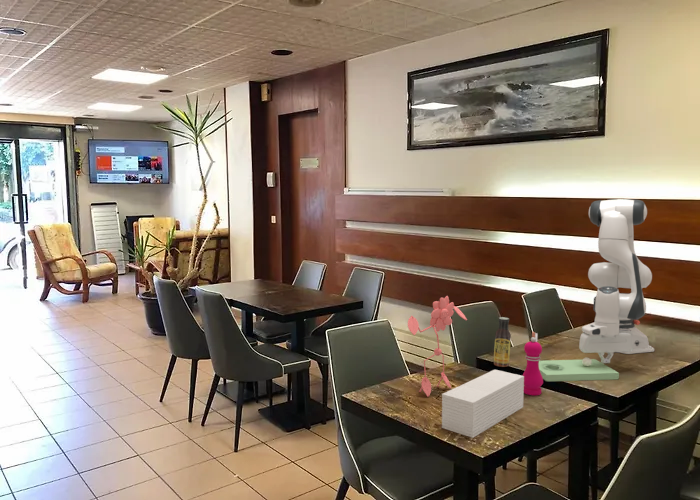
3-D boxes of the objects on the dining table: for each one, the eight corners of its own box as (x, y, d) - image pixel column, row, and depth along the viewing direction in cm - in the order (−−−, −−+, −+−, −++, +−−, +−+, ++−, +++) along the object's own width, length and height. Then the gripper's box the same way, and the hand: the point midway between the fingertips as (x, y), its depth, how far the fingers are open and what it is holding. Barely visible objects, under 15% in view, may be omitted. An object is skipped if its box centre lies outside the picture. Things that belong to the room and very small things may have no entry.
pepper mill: (544, 396, 195) (545, 340, 193) (522, 395, 197) (523, 339, 195) (541, 389, 202) (542, 335, 200) (520, 388, 204) (521, 334, 202)
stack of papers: (494, 399, 193) (494, 369, 192) (523, 407, 186) (524, 376, 185) (441, 428, 170) (442, 393, 169) (472, 438, 163) (473, 402, 162)
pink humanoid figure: (400, 396, 196) (402, 297, 192) (450, 381, 212) (453, 289, 208) (432, 410, 184) (435, 305, 180) (483, 393, 200) (486, 296, 196)
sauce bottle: (492, 366, 229) (493, 319, 228) (494, 362, 235) (495, 315, 233) (509, 368, 227) (510, 320, 225) (510, 364, 233) (511, 317, 231)
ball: (589, 364, 223) (589, 356, 223) (593, 367, 219) (593, 358, 219) (580, 365, 223) (580, 356, 222) (584, 367, 219) (584, 358, 219)
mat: (593, 363, 232) (594, 329, 231) (618, 379, 213) (620, 341, 211) (526, 365, 230) (527, 331, 229) (546, 381, 211) (547, 343, 210)
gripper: (627, 326, 224) (626, 359, 225) (577, 327, 222) (576, 361, 224) (636, 329, 218) (635, 364, 219) (585, 330, 216) (584, 366, 217)
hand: (605, 362), depth 221 cm, fingers closed
